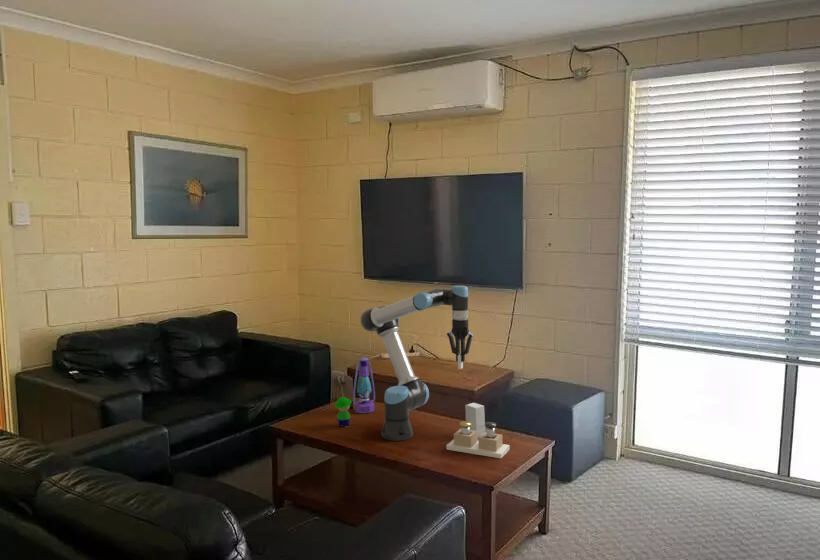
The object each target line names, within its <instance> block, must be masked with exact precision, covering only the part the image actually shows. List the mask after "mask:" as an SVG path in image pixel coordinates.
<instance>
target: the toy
mask: <svg viewBox="0 0 820 560" xmlns="http://www.w3.org/2000/svg"><path fill="white" fill-rule="evenodd" d="M333 405H334V407H335V408H336V409H338V412H337V416H336V420H337V422H338V426H339V425H343V426H349V427H350V420H351V414H350V412H349V411H348V410H354V403H353V400H351V399H349V398H347V397H345V396H342V397H341V396H340V397H339V398H338V399H337V401H336V402H335V403H334V404H333ZM343 426H342V427H343Z"/></svg>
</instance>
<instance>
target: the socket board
mask: <svg viewBox="0 0 820 560" xmlns="http://www.w3.org/2000/svg"><path fill="white" fill-rule="evenodd" d="M445 445H446V446H445V447H446V450H449V451H454V452H458V453H459V452H461V453H466V454H471V455H479V456H485V457H490V458H491V457H492V458H495V459H502V458H503V457H505V455H506V454H507V453H508V452H509V451H510V450H511V449H510V448H511V447H510V446H511V445H510V444H505V443H504V444H503V434H502V433H501V434H498V433H495V438H494V439H491V438H486V431H485V433H483V434H482V435H481V436H480V437H478V438H477V431H473V430H470V434H469V435H465V434H461V428H459V429H458V430H457V431H456V432H454V433H453V439H452V440H451V441H450V442H449V443H447V444H445Z"/></svg>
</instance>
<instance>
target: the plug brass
mask: <svg viewBox="0 0 820 560" xmlns="http://www.w3.org/2000/svg"><path fill="white" fill-rule="evenodd" d="M470 426H471V422H469V421H466V420H465V421H464V420H463V421H460V422H459V427H461V428H460V429H461V434H465V435H469V434H470Z"/></svg>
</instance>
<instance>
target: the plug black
mask: <svg viewBox="0 0 820 560" xmlns="http://www.w3.org/2000/svg"><path fill="white" fill-rule="evenodd" d="M496 427H497V422H494V421H485V432H486V438H491V439H494V438H495V434H496V429H495V428H496Z"/></svg>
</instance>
